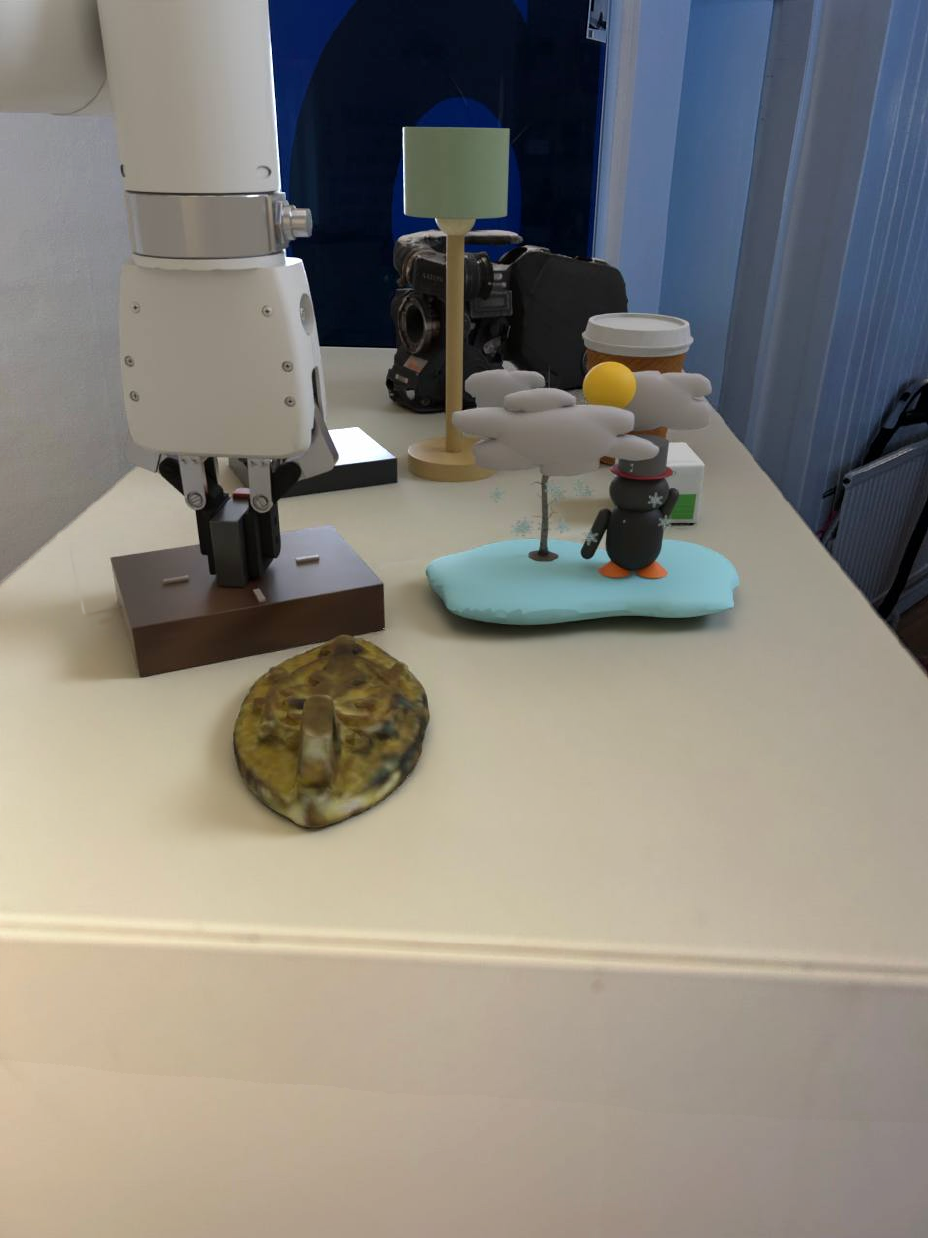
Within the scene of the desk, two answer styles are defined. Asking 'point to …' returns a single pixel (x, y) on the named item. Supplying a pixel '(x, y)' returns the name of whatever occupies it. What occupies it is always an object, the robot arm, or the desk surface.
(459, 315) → the desk lamp
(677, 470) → the small box
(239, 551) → the dark grey block
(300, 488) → the switch block
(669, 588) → the penguin figurine
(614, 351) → the disposable coffee cup
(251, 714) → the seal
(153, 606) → the dimmer panel
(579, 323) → the movie camera
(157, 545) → the desk surface
